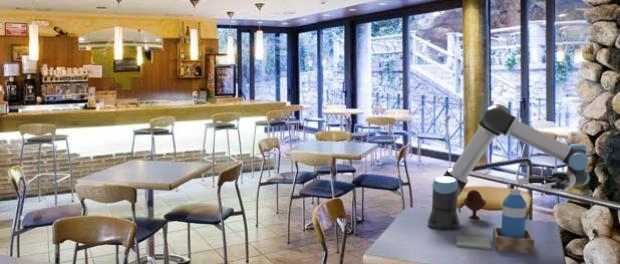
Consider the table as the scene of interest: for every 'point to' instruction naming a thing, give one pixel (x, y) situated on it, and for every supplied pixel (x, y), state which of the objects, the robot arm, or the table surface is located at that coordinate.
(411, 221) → the table surface
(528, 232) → the wooden frame
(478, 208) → the ice cream bowl
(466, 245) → the mat
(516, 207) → the water bottle
